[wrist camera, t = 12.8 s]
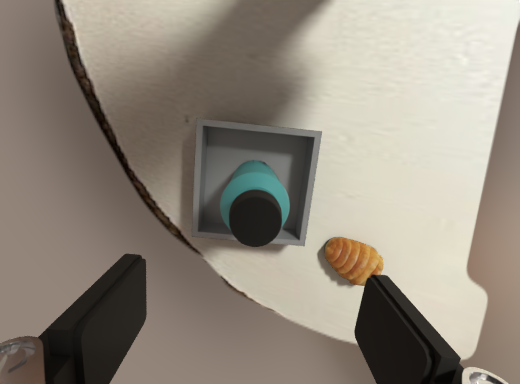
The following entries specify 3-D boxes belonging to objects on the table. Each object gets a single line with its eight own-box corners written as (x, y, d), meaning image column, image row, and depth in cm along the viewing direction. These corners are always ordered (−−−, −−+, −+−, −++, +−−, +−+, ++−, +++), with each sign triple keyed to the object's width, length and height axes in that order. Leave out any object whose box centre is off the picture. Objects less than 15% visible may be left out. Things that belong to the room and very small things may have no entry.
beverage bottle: (226, 192, 38) (196, 251, 18) (241, 150, 36) (226, 165, 17) (267, 206, 38) (280, 278, 19) (282, 165, 37) (315, 197, 17)
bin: (204, 120, 36) (196, 118, 31) (313, 131, 37) (322, 131, 32) (199, 223, 40) (191, 236, 35) (298, 232, 41) (304, 246, 36)
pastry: (313, 257, 42) (319, 269, 38) (336, 225, 41) (345, 234, 37) (358, 283, 43) (368, 297, 39) (382, 252, 42) (394, 263, 38)
